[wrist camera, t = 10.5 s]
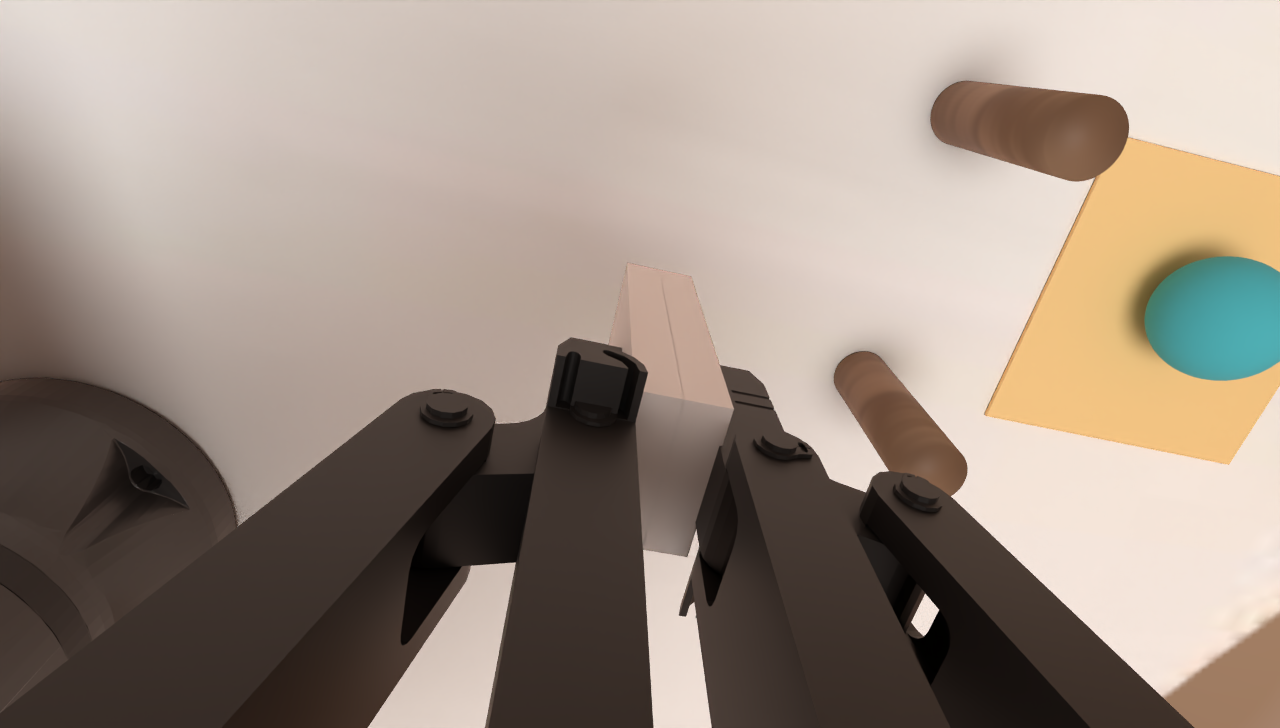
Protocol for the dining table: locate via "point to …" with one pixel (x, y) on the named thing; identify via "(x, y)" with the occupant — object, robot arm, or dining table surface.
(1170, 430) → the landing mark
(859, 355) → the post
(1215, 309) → the ball
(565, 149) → the dining table surface
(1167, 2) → the dining table surface
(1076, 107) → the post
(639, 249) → the dining table surface
